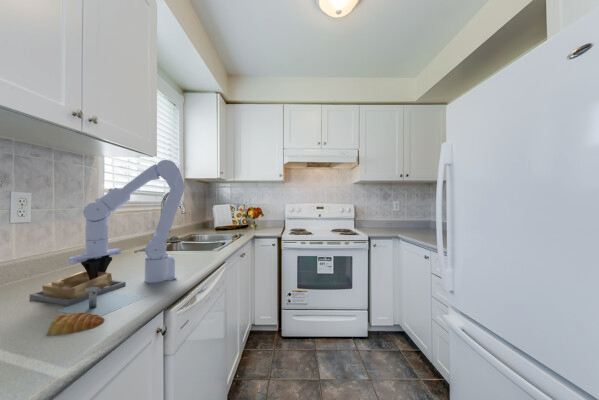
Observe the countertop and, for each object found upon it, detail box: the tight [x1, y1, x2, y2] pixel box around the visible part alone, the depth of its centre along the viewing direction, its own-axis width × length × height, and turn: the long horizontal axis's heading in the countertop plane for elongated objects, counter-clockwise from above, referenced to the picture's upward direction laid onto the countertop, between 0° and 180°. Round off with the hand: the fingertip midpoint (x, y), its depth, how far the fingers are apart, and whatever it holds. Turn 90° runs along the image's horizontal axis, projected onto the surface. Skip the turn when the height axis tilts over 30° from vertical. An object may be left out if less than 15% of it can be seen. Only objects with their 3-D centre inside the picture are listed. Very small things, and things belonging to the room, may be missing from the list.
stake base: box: [56, 290, 147, 317], centre depth 67 cm, size 14×14×1 cm
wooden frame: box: [41, 269, 113, 300], centre depth 74 cm, size 11×11×5 cm
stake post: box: [85, 286, 102, 309], centre depth 64 cm, size 2×4×5 cm, turn 74°
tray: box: [28, 279, 127, 307], centre depth 75 cm, size 16×16×2 cm
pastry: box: [46, 312, 105, 336], centre depth 55 cm, size 9×7×4 cm
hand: (96, 280), depth 79 cm, fingers closed on wooden frame
